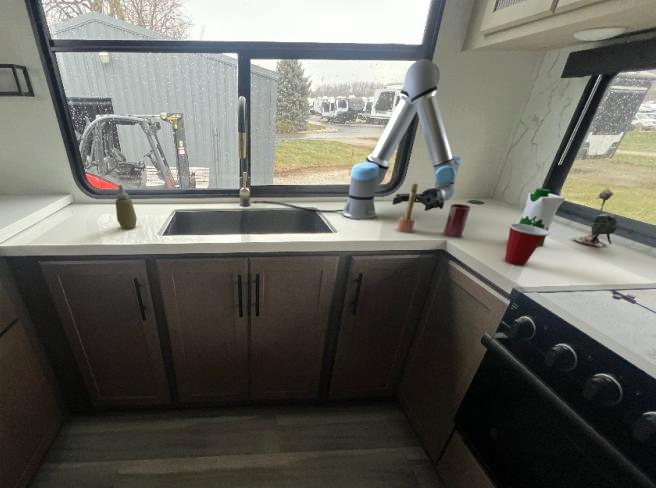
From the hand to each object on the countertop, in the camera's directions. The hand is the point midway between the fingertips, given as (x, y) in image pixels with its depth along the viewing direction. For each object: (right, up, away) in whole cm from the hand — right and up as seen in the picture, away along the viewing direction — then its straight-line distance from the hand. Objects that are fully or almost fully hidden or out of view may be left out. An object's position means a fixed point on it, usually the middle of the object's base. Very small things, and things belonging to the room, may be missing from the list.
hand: (409, 204), depth 136 cm
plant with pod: (+66, -18, -8) cm, 69 cm away
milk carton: (+42, -17, -6) cm, 46 cm away
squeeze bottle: (-119, -7, +12) cm, 120 cm away
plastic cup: (+25, -26, -23) cm, 43 cm away
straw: (+1, -9, +7) cm, 11 cm away
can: (+18, -13, +1) cm, 22 cm away
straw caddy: (+1, -10, +7) cm, 12 cm away
